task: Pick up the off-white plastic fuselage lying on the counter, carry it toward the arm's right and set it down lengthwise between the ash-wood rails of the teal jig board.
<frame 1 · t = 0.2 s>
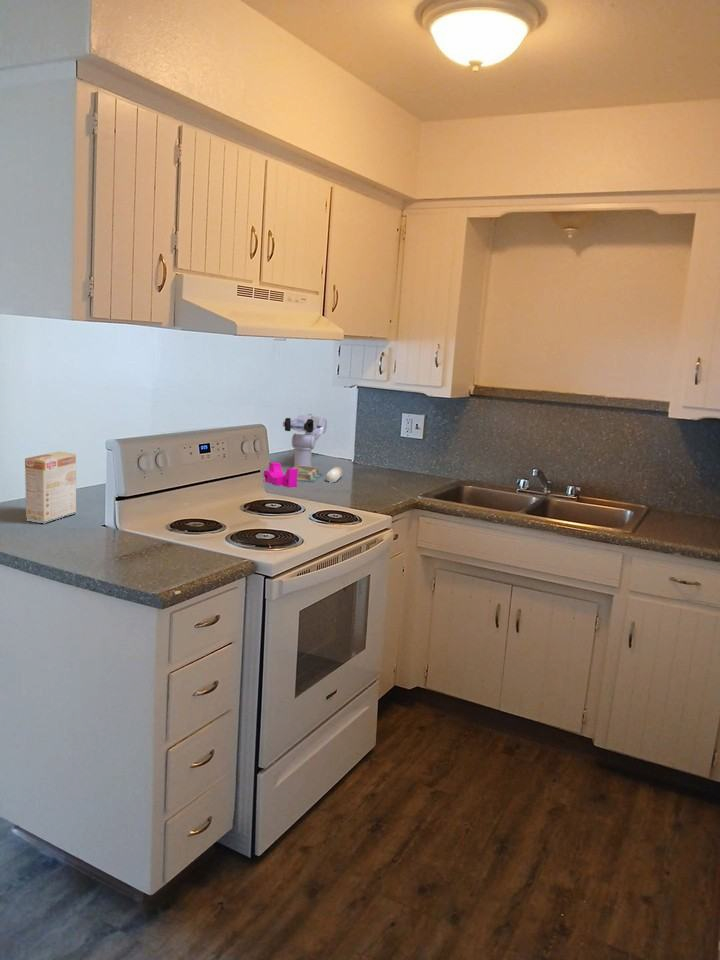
hand: (295, 426, 322), 21 cm above the worktop, tool horizontal, fingers open, 7 cm apart
coffeecake box: (51, 518, 237), on the worktop
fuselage: (334, 480, 326), on the worktop
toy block: (279, 484, 311), on the worktop
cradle: (302, 476, 328), on the worktop
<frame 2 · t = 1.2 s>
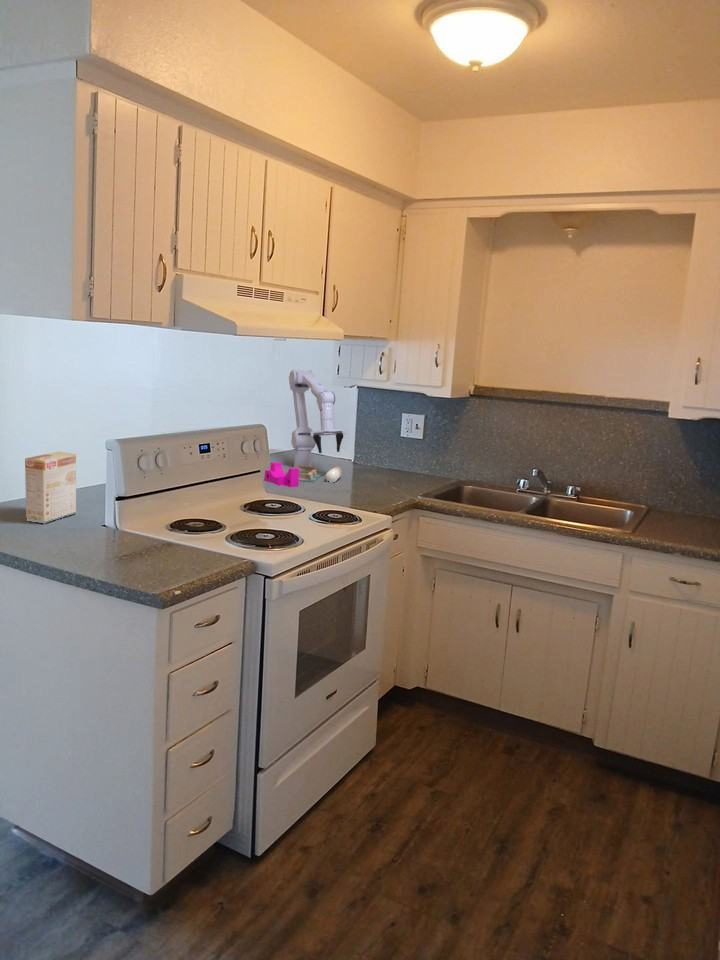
hand: (329, 452, 323), 12 cm above the worktop, tool tilted 15°, fingers open, 7 cm apart
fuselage: (334, 480, 326), on the worktop, tilted 6°
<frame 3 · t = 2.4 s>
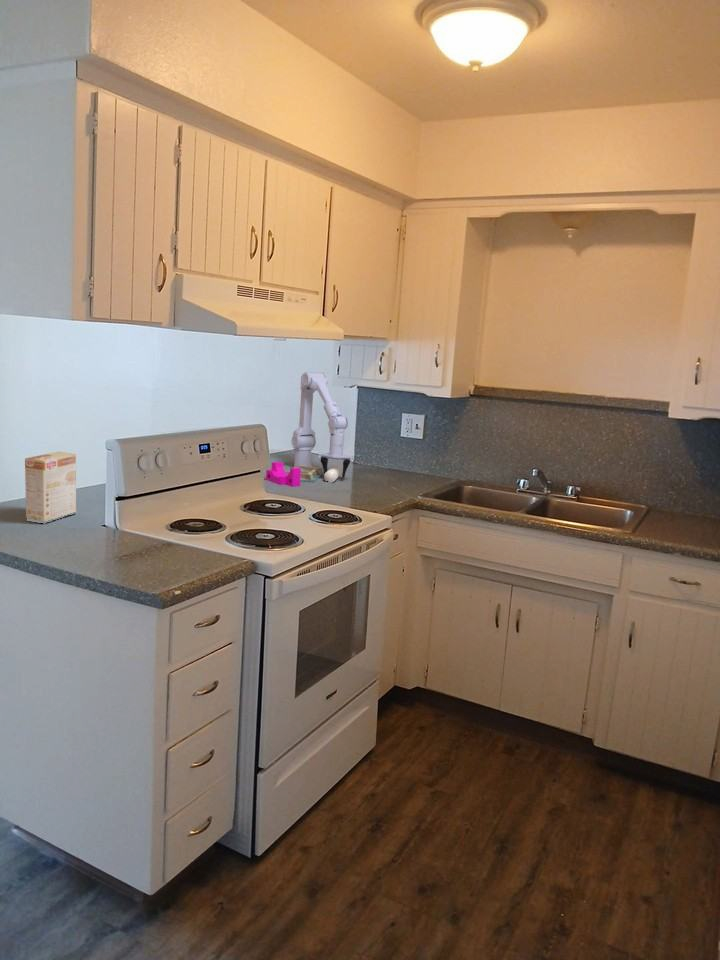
hand: (334, 476, 326), 2 cm above the worktop, tool pointing down, fingers open, 7 cm apart
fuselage: (334, 480, 326), on the worktop, tilted 20°
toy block: (282, 484, 313), on the worktop
everything else where it was.
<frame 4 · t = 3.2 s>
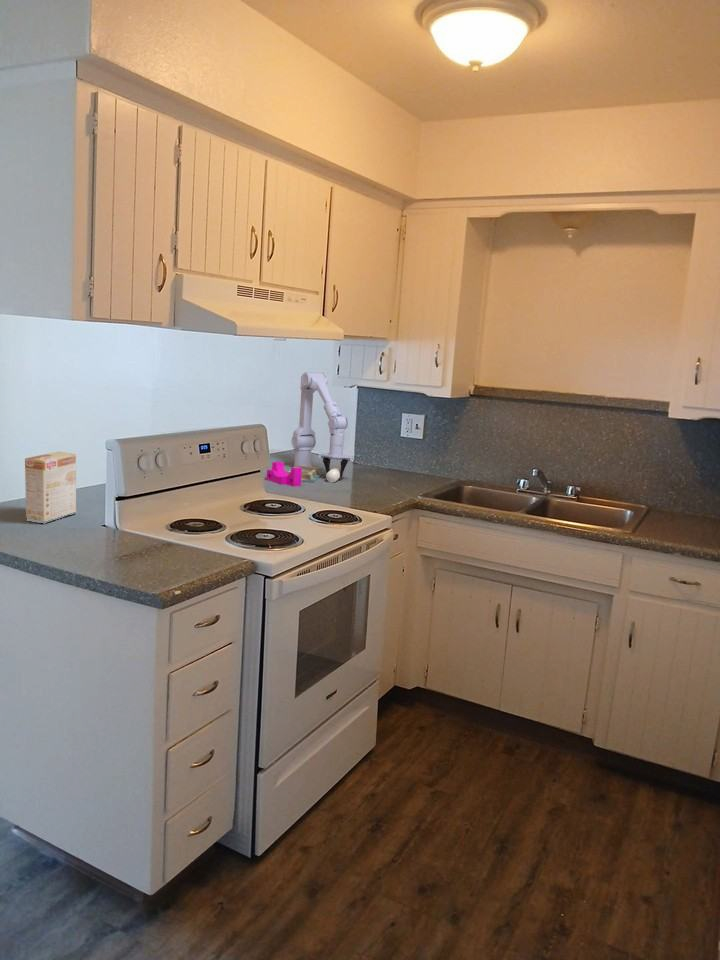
hand: (334, 476, 326), 2 cm above the worktop, tool pointing down, fingers closed on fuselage, 5 cm apart
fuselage: (334, 480, 326), on the worktop, touching gripper
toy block: (283, 483, 313), on the worktop, touching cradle
everything else where it was.
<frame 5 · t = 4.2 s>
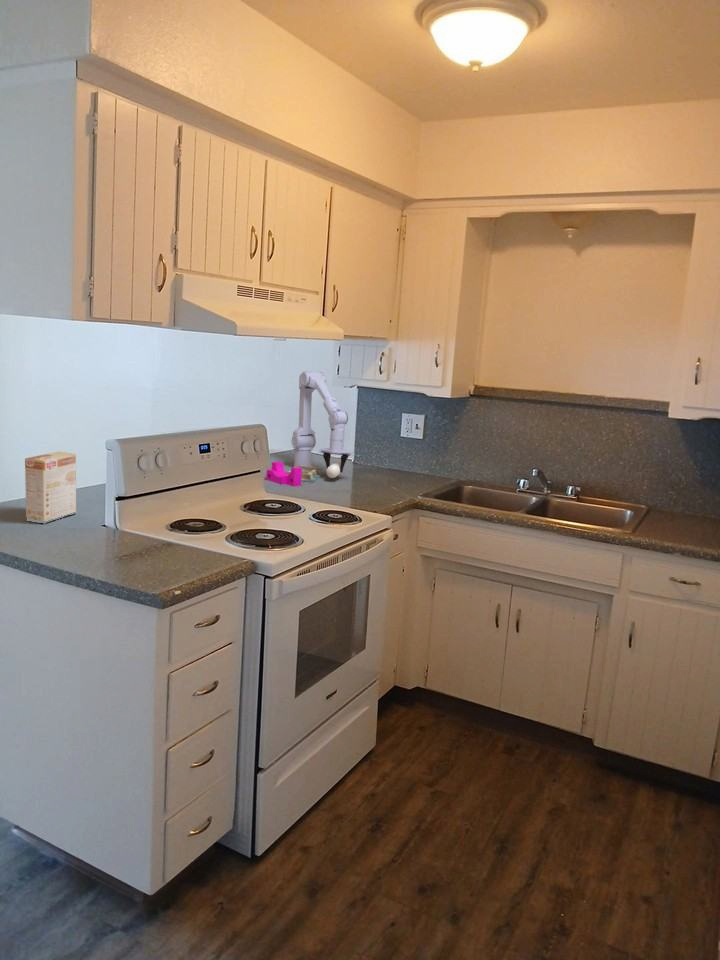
hand: (334, 471, 326), 4 cm above the worktop, tool pointing down, fingers closed on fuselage, 5 cm apart
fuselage: (334, 475, 326), point 2 cm above the worktop, touching gripper
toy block: (283, 483, 314), on the worktop
everything else where it was.
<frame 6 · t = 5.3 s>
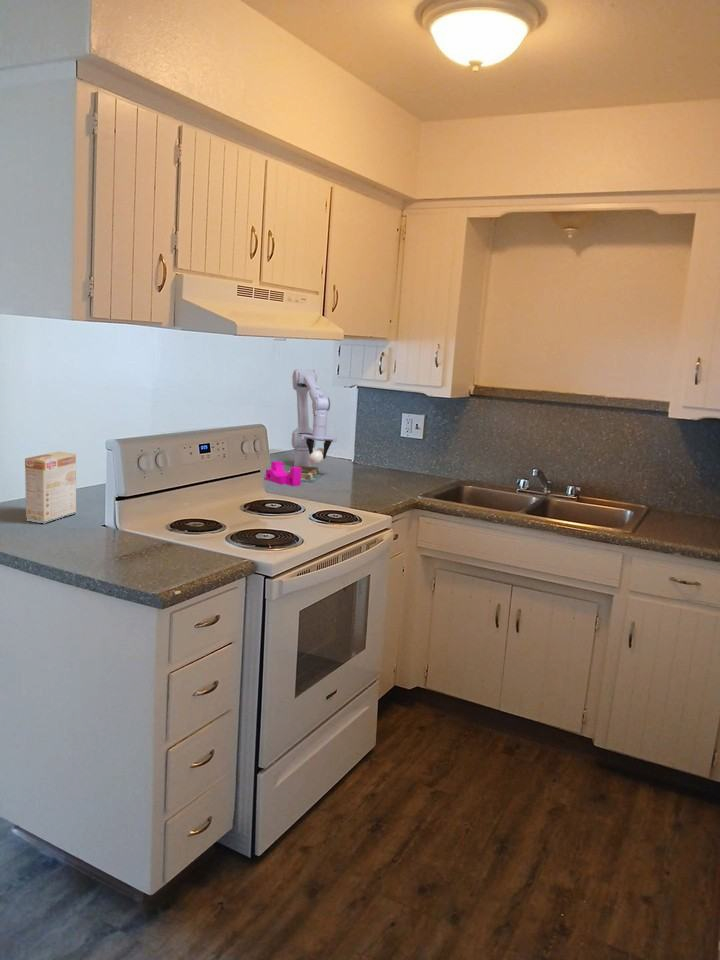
hand: (317, 457, 326), 9 cm above the worktop, tool pointing down, fingers closed on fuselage, 5 cm apart
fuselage: (317, 461, 326), point 7 cm above the worktop, touching gripper
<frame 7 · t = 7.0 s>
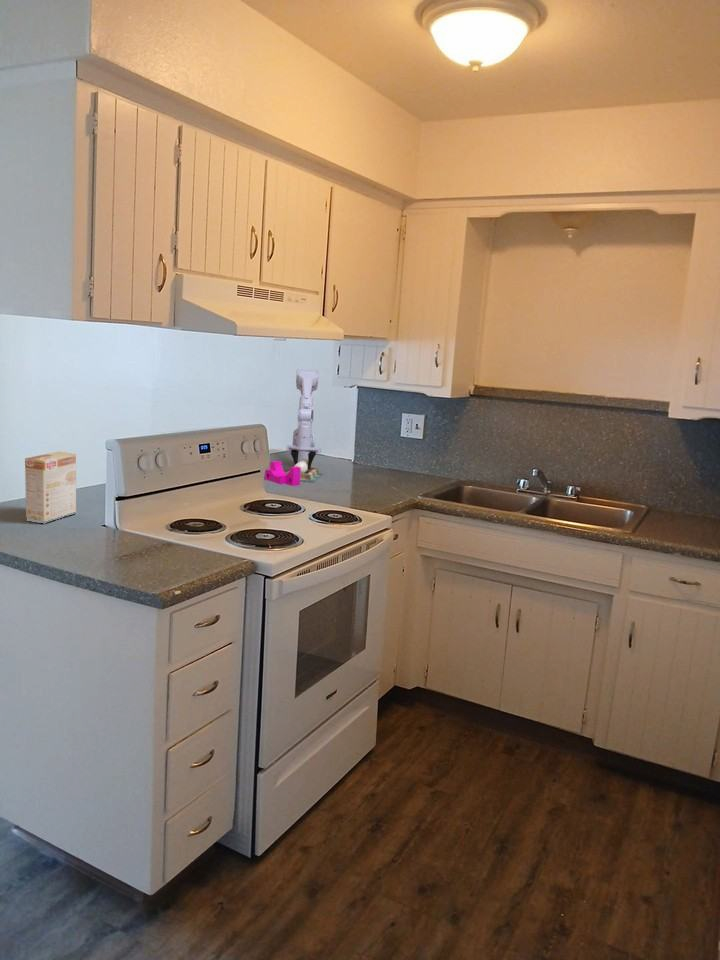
hand: (302, 468, 328), 4 cm above the worktop, tool pointing down, fingers closed on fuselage, 5 cm apart
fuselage: (302, 472, 328), point 2 cm above the worktop, touching gripper
when the fingers open (4 cm above the worktop, at t = 7.6 s): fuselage drops 1 cm, resting on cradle.
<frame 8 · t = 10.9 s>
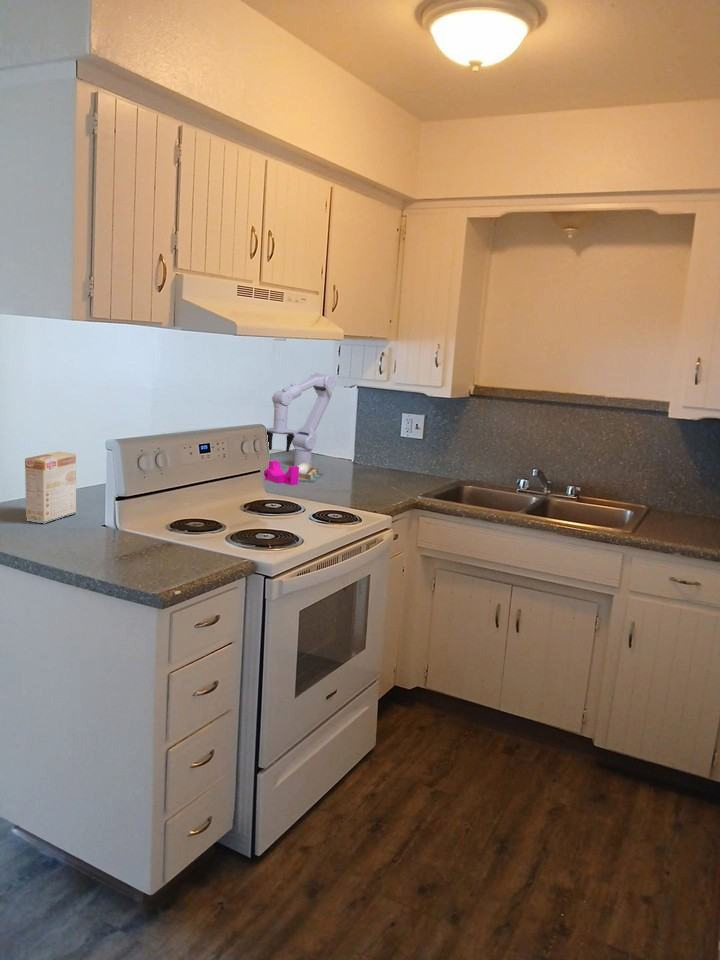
hand: (278, 450, 333), 9 cm above the worktop, tool pointing down, fingers open, 7 cm apart
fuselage: (302, 475, 328), resting on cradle
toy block: (280, 482, 315), on the worktop
everything else where it was.
at the end: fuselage 0.2 cm from the target spot, point 0.5 cm above the worktop; the gripper is holding nothing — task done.
